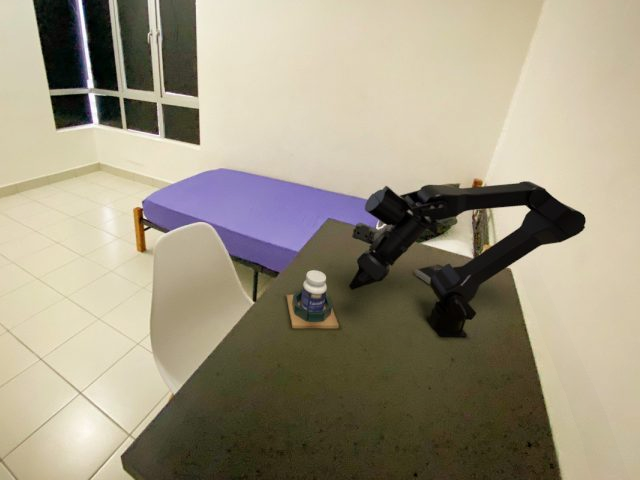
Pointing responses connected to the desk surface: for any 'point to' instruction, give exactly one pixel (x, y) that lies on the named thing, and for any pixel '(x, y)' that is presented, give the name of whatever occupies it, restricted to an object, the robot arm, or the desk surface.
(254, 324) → the desk surface
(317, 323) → the dock
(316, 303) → the pill bottle
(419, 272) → the cell phone
